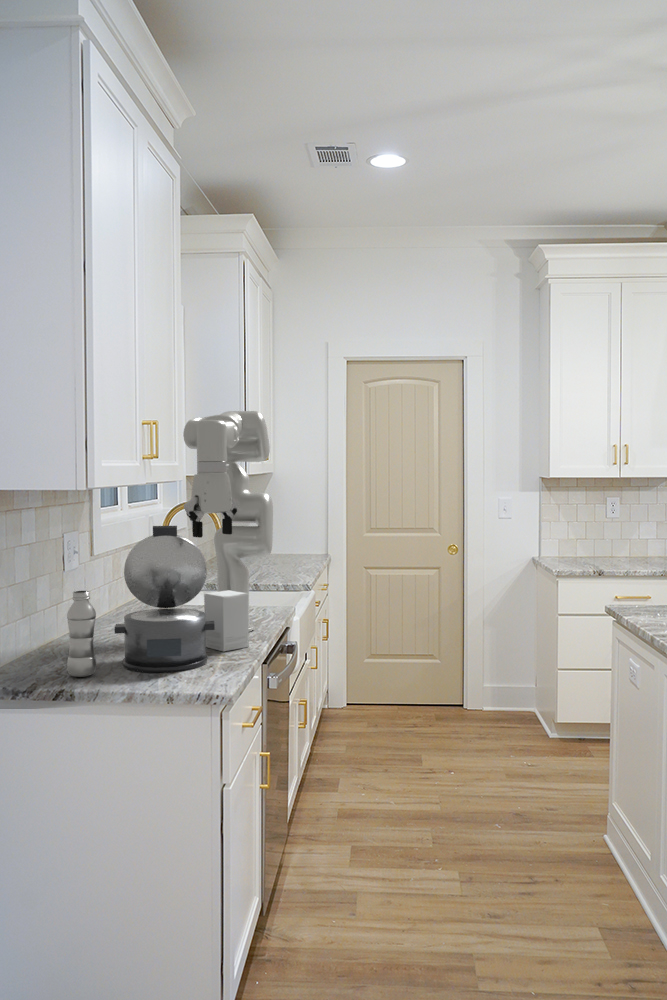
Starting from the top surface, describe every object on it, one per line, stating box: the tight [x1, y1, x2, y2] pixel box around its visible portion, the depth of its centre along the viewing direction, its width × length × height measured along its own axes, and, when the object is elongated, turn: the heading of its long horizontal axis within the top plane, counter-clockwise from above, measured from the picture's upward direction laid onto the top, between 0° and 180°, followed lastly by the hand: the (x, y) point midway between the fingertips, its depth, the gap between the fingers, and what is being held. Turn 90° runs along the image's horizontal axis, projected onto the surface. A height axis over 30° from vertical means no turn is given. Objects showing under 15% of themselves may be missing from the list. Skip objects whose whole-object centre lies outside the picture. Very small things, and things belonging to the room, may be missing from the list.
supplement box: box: [203, 590, 250, 652], centre depth 217 cm, size 9×9×15 cm
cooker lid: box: [123, 525, 208, 609], centre depth 206 cm, size 23×21×4 cm
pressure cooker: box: [114, 607, 215, 674], centre depth 199 cm, size 22×24×12 cm
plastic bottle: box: [66, 590, 97, 678], centre depth 186 cm, size 6×7×20 cm
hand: (212, 535), depth 202 cm, fingers open, 9 cm apart
